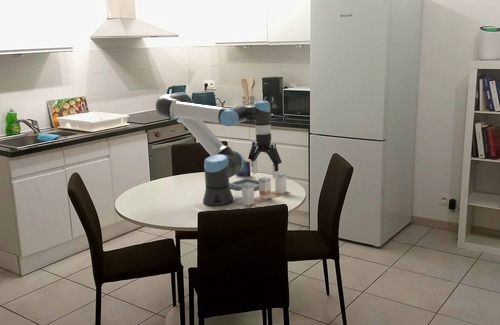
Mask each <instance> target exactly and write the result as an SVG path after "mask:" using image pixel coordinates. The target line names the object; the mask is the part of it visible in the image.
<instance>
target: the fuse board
mask: <svg viewBox="0 0 500 325" xmlns="http://www.w3.org/2000/svg"><path fill="white" fill-rule="evenodd" d="M290 193H291V191H287V192H285V193H283V194H280V193H276V190H274V191H271V198H268V199H266V200H265V199H261V198H260V195H259V196H257V197H254V204H251V205H249V206H248V205H245V204H243V201H241V202H239V203H238V205H242V206H245V207H249V208H251V207H254V206H257V205H259V204H260V205H261V204H262V203H265V202H267V201H270V200H273V199H276V198H279V197H281V196H284V195H288V194H290Z"/></svg>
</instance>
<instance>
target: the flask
mask: <svg viewBox="0 0 500 325" xmlns="http://www.w3.org/2000/svg"><path fill="white" fill-rule="evenodd" d="M243 159H244V166H243V169H242V170H241V171H240V172H239V173H238V174H236V175H235V176H237V177H246V178H249V177H251V164H250V163H251V162H250V160H247V159H246V160H245V157H243Z"/></svg>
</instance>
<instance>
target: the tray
mask: <svg viewBox="0 0 500 325" xmlns="http://www.w3.org/2000/svg"><path fill="white" fill-rule="evenodd" d="M247 182H249V183H253V184H254V191H256V190H259V179H253V178H249V177H245V178H242V179H238V180H236V181H232V182H229V187H230V189H232V190H236V191H242V184H244V183H247Z"/></svg>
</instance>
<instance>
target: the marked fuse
mask: <svg viewBox="0 0 500 325" xmlns="http://www.w3.org/2000/svg"><path fill="white" fill-rule="evenodd" d="M271 179H272V178H271V177H266V176H262V177H260V178H258V181H259V189H258V192H259V196H260V198H261V199H265V200H266V199H268V198H271V192H272V189H271V188H272V184H271V181H272V180H271Z"/></svg>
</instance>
